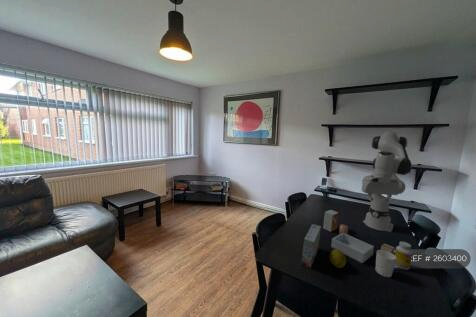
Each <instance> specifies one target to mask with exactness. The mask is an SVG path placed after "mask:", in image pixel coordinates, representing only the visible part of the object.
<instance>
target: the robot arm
mask: <svg viewBox="0 0 476 317" xmlns="http://www.w3.org/2000/svg"><path fill="white" fill-rule="evenodd" d="M408 144H409V143H408V139H407V137H405V136H398V135H397V133H396V132H394V131H392V130H391V131H390V130H386V131H384V132H383V133H382V134H381V135H377V136H374V137H373V138H372V139H371V142H370V145H371V147H372V149H373V150H379V152H377V154H376V157H375V158H374V159H372V160H373V162H372V169H373V170H374V171H373V174H369V175H364V177H363V179H362V181H361V183H362V185H361V191H362V192H363V193H365V194H367V196H368V200H369V201H370V206H369V209H368V212H367V213H366V215H365V219H363V220H362V222H363V223H364V224H365V226H367V227H369V228H371V229H374V230H377V231H380V232H390V233H392V231H393V229H394V224H393V223H391V217H390V209H389V208H390V199H391V198H392V196H398V195H400V194H402V193H404V192H405V190H406V183H405V182H404V181H403V180H401V179H400V178H399V176H397V175H401V176H405V175H407V174H409V173H411V171H412V169H413V168H412V167H413V164H412V161H411V160H410V158H409V155H408V153H407V150H406V148H407V147H408ZM384 195H386V196H384Z"/></svg>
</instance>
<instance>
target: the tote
mask: <svg viewBox="0 0 476 317" xmlns="http://www.w3.org/2000/svg"><path fill="white" fill-rule="evenodd" d="M330 248H331V249H333V250H335V249H336V250H340V251H341V252H343V254H344V255H345V256H347V257H349V258H351V259H353V260H355V261H357V262H358V263H360V264H363V263H365V262H366V261H367V260H369V259H370V258H371V257H373V255H374V248H375V245H373V244H370V243H368V242H366V241H363V240H360V239H358V238H356V237H354V236H351V235H350V234H348V233H347V234H345V233H342V234H340V235H339V234H338V235H336V236H334V237H333V238H331V244H330Z"/></svg>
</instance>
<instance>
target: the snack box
mask: <svg viewBox="0 0 476 317" xmlns="http://www.w3.org/2000/svg"><path fill="white" fill-rule="evenodd" d="M321 230H322V226H321V225H317V224H314V223H313V224H311V226H310V228H309V230H308V232H307V234H306V235H305V237H304V240H303V246H302V247H303V248H302V256H301V266H304V267H306V268H308V269H311V268H312V267H313V264H314V261H315V258H316V256H317V253H318V251H319V245H320V237H321V236H320V235H321Z"/></svg>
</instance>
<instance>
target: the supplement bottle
mask: <svg viewBox="0 0 476 317" xmlns="http://www.w3.org/2000/svg"><path fill="white" fill-rule="evenodd" d="M394 252H395V253H394V255H395V256H396V262H395V266H396V267H397V268H400V269H401V270H406V271H408V270H410V268H411V262H412V256H413V250H412V245H411V244H410V243H408V242H406V241H399V245H397V246H396V247H395V251H394Z"/></svg>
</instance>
